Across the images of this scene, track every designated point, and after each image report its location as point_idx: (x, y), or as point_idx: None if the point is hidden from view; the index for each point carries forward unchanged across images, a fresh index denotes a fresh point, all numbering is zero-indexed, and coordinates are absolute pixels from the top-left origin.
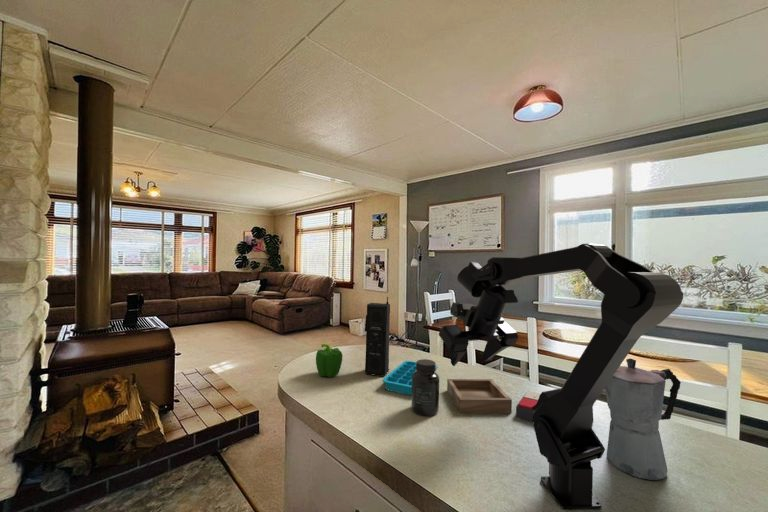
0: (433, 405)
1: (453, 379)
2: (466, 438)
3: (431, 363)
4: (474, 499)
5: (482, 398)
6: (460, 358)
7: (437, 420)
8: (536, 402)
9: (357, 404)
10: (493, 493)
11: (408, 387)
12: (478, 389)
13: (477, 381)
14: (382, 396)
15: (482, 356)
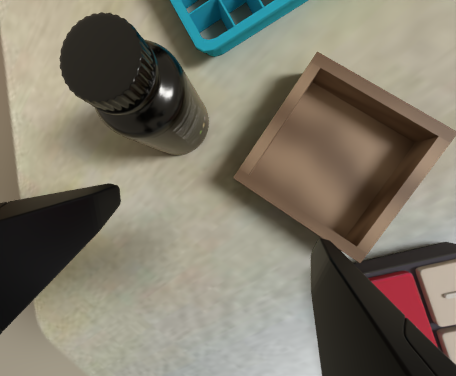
0: (165, 151)
1: (332, 64)
2: (169, 251)
3: (108, 83)
4: (68, 345)
5: (291, 208)
6: (43, 285)
7: (170, 173)
8: (410, 316)
9: None
10: (96, 356)
11: (187, 31)
12: (382, 126)
13: (397, 114)
14: (141, 18)
15: (322, 247)
